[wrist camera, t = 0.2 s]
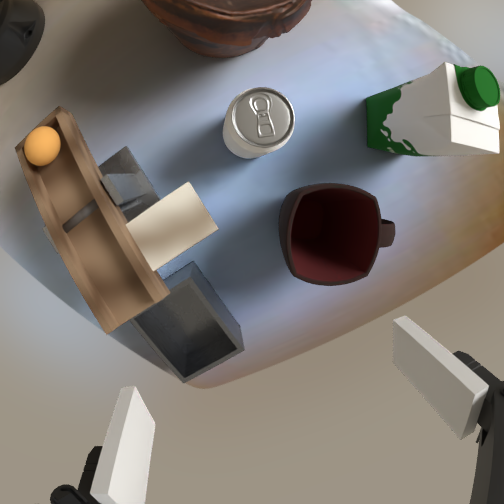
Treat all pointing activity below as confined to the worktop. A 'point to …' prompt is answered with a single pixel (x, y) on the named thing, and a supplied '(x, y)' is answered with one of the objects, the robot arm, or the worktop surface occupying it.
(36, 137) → the ball
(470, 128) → the milk carton
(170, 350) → the tin
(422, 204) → the worktop surface
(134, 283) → the lever
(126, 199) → the stand
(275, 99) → the can
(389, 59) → the worktop surface
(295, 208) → the cup
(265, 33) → the case
